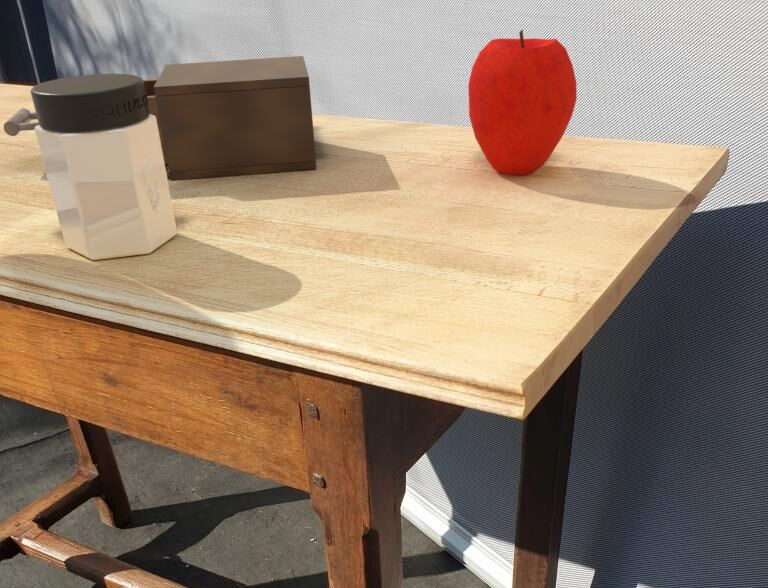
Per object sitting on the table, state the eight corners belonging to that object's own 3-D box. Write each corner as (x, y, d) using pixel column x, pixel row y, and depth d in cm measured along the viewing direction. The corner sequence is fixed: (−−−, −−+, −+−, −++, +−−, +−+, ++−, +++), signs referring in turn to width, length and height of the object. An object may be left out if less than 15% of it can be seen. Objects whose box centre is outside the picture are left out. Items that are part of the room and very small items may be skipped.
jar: (138, 264, 64) (102, 96, 57) (48, 257, 66) (2, 94, 59) (192, 226, 71) (166, 72, 64) (109, 221, 73) (74, 71, 66)
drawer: (9, 181, 81) (-12, 107, 78) (35, 152, 91) (17, 84, 87) (207, 166, 83) (195, 93, 79) (212, 139, 92) (202, 72, 88)
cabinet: (170, 180, 83) (153, 86, 78) (180, 149, 93) (165, 64, 88) (316, 169, 84) (308, 76, 79) (310, 139, 94) (303, 55, 89)
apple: (573, 157, 84) (585, 21, 77) (566, 186, 76) (578, 37, 69) (475, 155, 86) (478, 22, 79) (458, 183, 78) (459, 38, 71)
